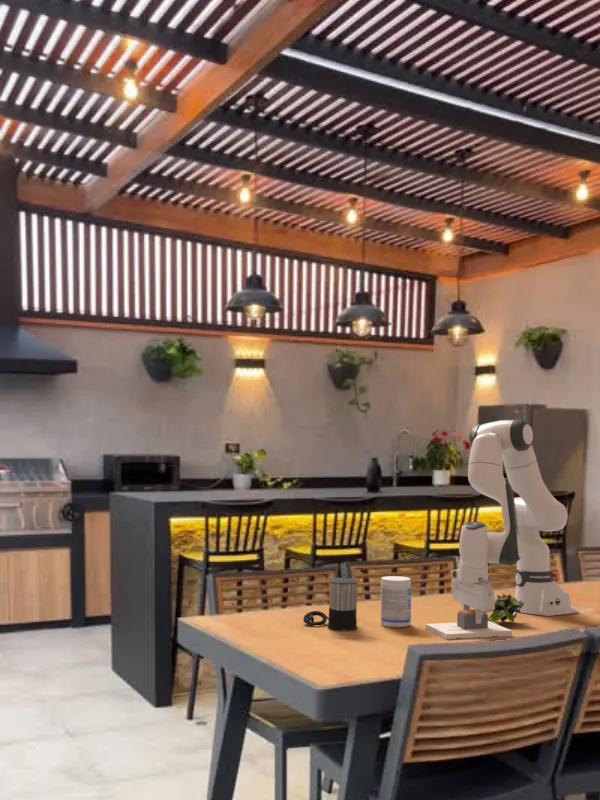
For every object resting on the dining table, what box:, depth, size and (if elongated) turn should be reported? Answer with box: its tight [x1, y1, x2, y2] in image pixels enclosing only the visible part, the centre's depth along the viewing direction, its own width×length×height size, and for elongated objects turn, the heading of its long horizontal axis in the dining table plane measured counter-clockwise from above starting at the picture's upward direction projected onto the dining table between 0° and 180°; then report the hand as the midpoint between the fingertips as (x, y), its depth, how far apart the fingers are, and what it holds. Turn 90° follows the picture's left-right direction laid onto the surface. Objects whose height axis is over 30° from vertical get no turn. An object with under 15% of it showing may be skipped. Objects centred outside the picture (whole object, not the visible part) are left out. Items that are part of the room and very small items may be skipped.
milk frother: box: [303, 577, 359, 632], centre depth 261 cm, size 14×16×15 cm
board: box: [424, 621, 513, 640], centre depth 257 cm, size 22×14×2 cm, turn 107°
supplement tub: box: [380, 575, 412, 628], centre depth 265 cm, size 10×10×15 cm
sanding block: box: [456, 609, 489, 629], centre depth 257 cm, size 8×4×5 cm, turn 105°
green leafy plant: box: [486, 593, 524, 627], centre depth 270 cm, size 11×11×12 cm
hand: (472, 621), depth 257 cm, fingers closed on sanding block, 5 cm apart
